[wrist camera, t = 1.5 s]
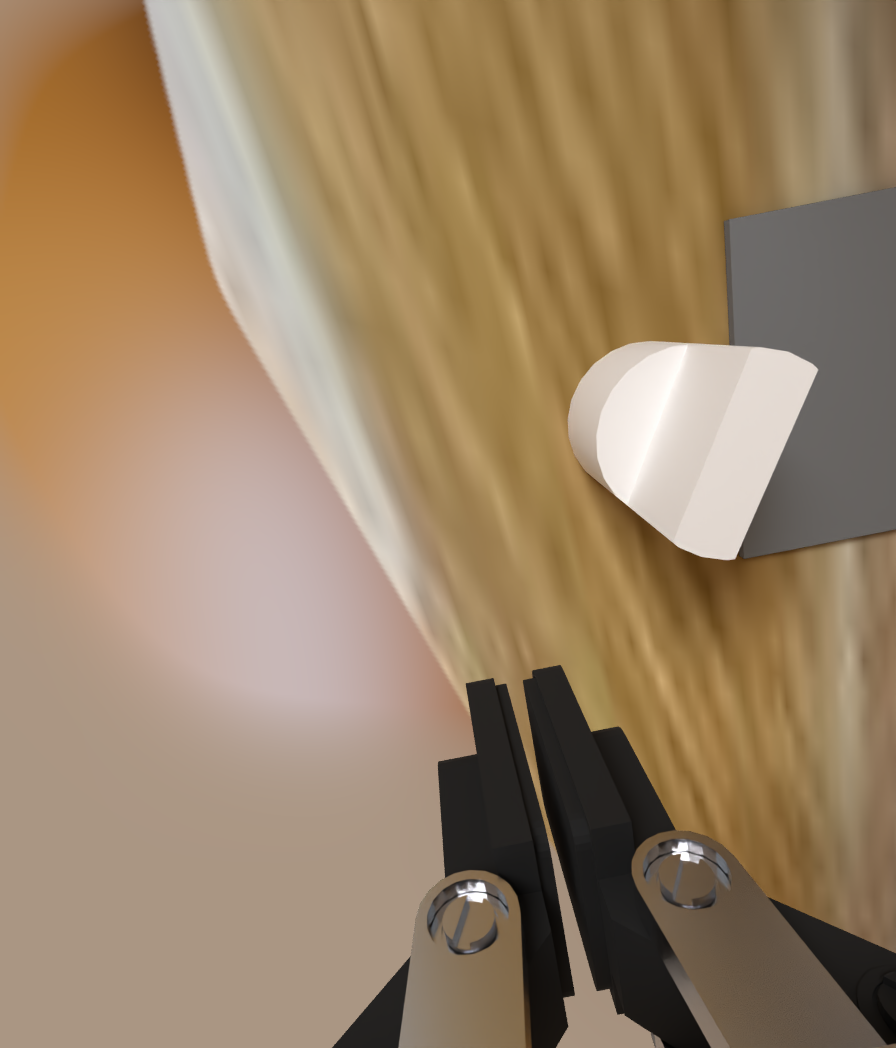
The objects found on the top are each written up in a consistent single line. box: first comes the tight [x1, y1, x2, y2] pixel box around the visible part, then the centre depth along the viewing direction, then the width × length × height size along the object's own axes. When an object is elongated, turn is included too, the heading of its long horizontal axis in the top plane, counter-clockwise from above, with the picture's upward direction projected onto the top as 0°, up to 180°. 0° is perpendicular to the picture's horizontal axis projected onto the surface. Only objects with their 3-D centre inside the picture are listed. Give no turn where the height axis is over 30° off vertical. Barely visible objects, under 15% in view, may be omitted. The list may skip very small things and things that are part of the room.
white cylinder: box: [568, 341, 818, 560], centre depth 32 cm, size 9×9×12 cm
